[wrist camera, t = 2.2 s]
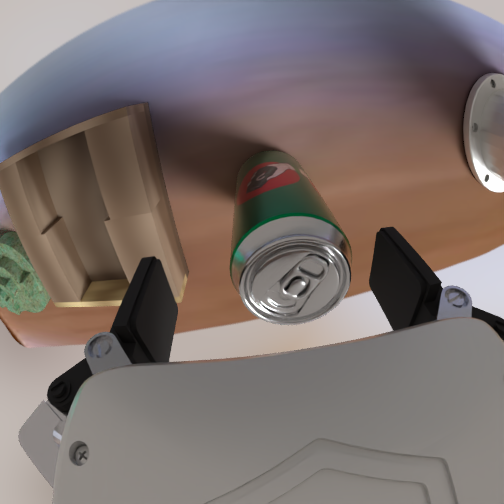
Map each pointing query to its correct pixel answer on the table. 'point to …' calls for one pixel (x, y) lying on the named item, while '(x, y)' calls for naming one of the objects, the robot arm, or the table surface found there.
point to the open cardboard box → (94, 208)
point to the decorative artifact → (19, 278)
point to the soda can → (286, 243)
